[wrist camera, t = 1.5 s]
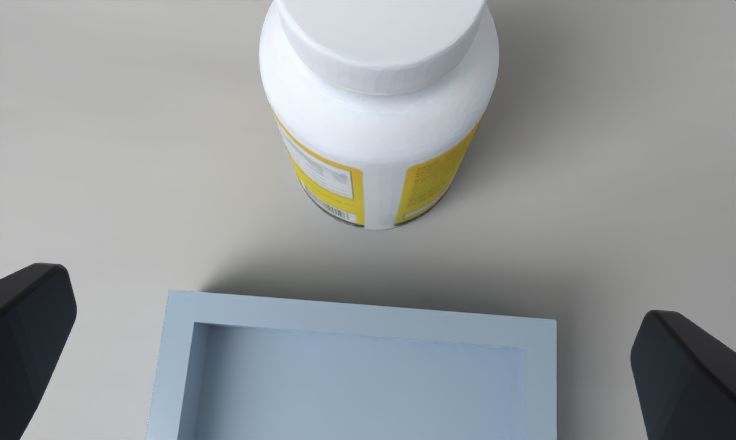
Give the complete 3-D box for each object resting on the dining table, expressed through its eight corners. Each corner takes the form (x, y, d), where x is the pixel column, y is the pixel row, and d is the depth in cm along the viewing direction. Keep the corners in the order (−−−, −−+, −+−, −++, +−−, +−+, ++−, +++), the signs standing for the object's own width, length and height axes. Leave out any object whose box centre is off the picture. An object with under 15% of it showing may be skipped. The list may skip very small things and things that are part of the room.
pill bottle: (473, 108, 24) (569, -115, 13) (429, 255, 23) (493, 149, 11) (324, 63, 25) (290, -191, 13) (270, 205, 23) (182, 54, 12)
